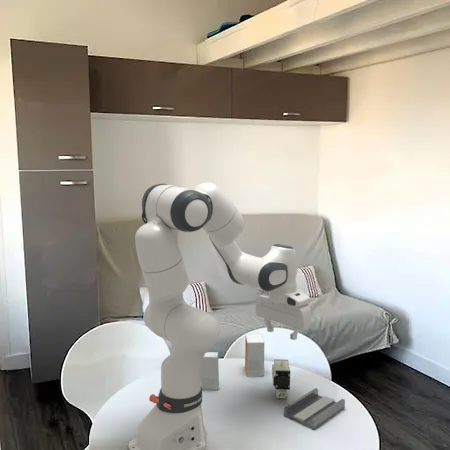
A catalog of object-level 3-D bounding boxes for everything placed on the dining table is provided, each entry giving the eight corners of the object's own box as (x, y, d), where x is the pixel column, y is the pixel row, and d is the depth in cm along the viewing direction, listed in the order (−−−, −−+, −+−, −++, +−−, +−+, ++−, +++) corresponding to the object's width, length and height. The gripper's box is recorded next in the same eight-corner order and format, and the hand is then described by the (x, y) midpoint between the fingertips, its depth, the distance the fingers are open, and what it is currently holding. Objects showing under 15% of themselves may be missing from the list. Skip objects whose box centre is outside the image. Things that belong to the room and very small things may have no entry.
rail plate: (314, 430, 149) (314, 420, 148) (283, 416, 156) (284, 407, 156) (344, 408, 161) (345, 399, 160) (315, 396, 168) (315, 388, 168)
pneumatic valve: (286, 388, 174) (287, 354, 172) (289, 405, 162) (290, 370, 161) (270, 387, 174) (271, 354, 172) (272, 405, 163) (273, 369, 161)
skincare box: (218, 384, 176) (219, 351, 174) (218, 390, 172) (218, 356, 170) (201, 384, 176) (201, 351, 175) (200, 390, 172) (199, 356, 170)
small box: (244, 366, 190) (245, 333, 188) (261, 366, 190) (262, 333, 188) (246, 376, 182) (247, 342, 180) (264, 376, 182) (264, 342, 180)
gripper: (251, 289, 168) (251, 329, 170) (302, 303, 154) (301, 346, 156) (263, 285, 172) (263, 324, 174) (314, 298, 158) (313, 340, 160)
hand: (281, 335), depth 165 cm, fingers open, 8 cm apart
